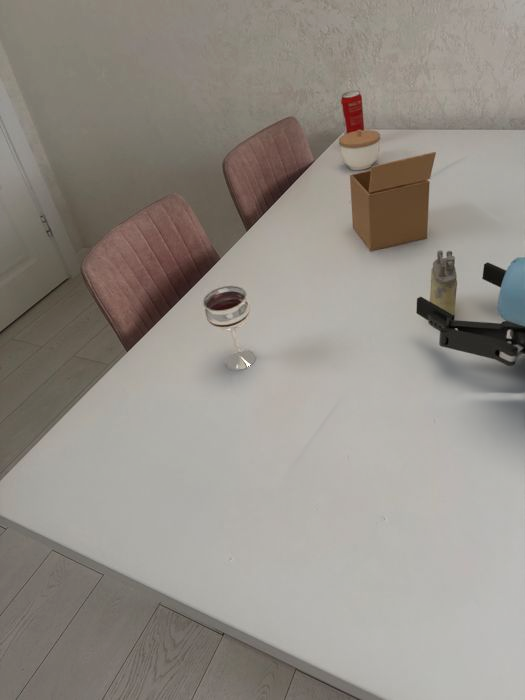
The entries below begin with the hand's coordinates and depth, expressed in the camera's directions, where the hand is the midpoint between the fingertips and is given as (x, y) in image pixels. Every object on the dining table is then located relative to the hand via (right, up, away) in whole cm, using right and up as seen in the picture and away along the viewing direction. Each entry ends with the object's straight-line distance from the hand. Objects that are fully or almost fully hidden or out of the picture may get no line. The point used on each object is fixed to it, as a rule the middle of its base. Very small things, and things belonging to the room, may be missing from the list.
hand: (452, 287), depth 76 cm
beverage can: (-2, +51, +72) cm, 88 cm away
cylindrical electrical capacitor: (0, -4, +5) cm, 6 cm away
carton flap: (-4, +23, +14) cm, 27 cm away
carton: (-3, +15, +29) cm, 32 cm away
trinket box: (-2, +41, +60) cm, 72 cm away
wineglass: (-33, -11, +4) cm, 35 cm away
